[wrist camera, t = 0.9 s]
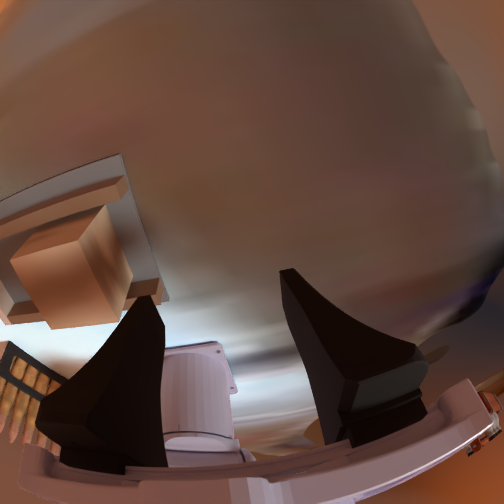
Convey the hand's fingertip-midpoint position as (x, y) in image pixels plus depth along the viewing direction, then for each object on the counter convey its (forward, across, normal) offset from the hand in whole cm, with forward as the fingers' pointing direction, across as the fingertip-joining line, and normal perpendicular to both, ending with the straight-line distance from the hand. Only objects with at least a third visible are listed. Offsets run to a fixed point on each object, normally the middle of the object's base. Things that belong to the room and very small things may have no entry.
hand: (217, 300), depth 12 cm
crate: (+8, +10, 0) cm, 13 cm away
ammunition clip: (+9, +26, +14) cm, 31 cm away
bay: (+8, +14, 0) cm, 16 cm away
